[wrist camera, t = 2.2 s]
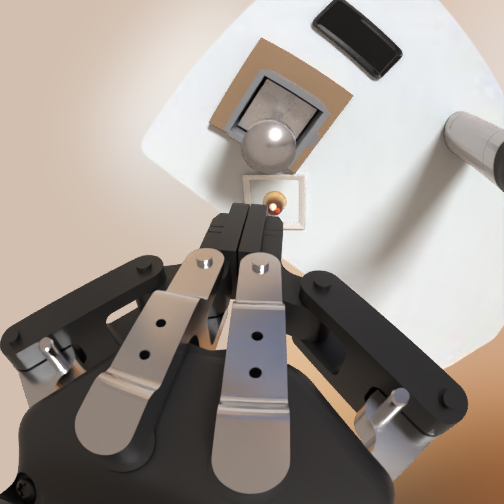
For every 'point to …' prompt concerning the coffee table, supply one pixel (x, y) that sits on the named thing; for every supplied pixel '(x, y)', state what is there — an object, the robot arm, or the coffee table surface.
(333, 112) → the grey square holder
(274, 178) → the dessert
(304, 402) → the robot arm
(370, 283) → the coffee table surface
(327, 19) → the phone
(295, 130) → the plunger
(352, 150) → the coffee table surface
